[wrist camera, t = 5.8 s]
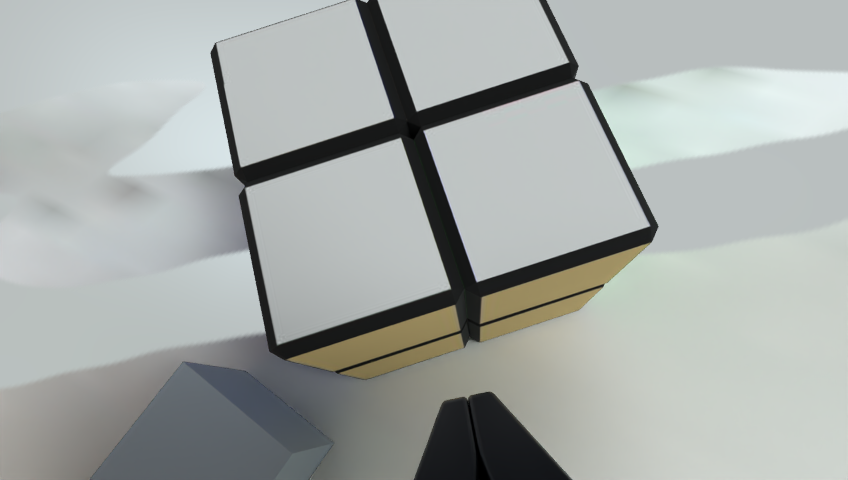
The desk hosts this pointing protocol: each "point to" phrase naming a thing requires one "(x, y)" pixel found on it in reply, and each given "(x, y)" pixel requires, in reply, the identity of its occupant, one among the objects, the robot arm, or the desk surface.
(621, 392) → the desk surface
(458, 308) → the puzzle cube
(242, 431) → the slate block
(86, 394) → the desk surface
